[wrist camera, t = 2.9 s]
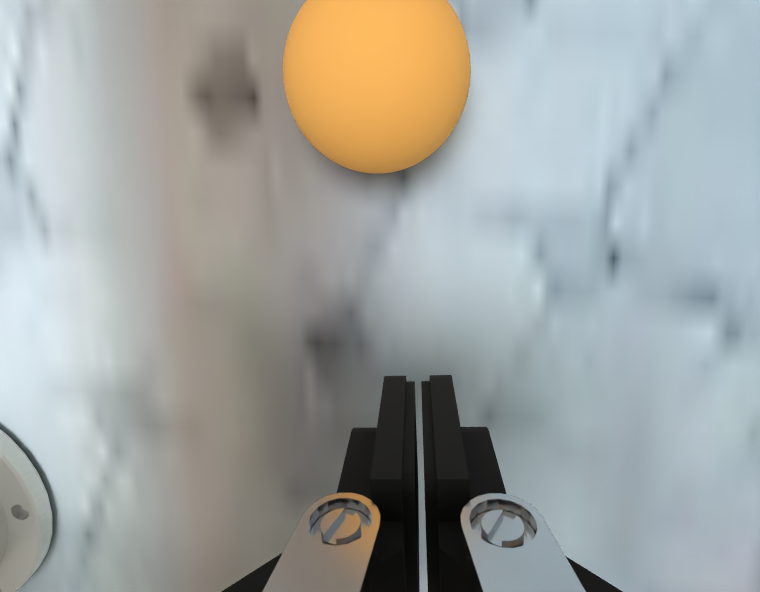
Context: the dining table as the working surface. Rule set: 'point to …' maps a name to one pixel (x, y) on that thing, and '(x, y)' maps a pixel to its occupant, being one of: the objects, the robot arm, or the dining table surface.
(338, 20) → the ball
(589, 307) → the dining table surface
